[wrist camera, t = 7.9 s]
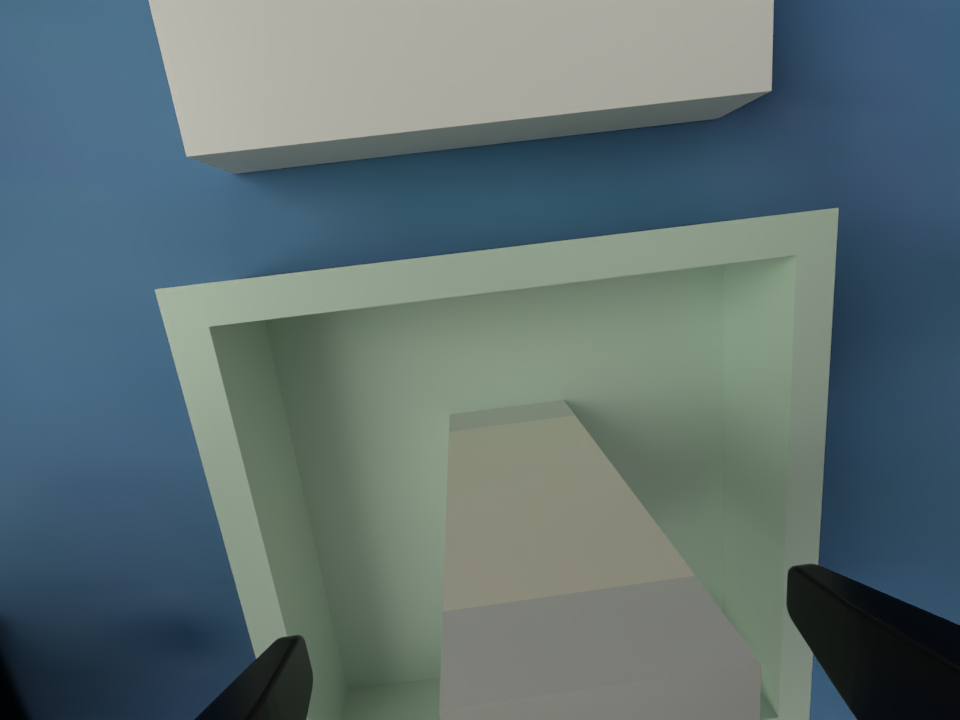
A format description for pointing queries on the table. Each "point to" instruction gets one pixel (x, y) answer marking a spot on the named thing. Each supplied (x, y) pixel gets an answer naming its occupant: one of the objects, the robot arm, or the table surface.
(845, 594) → the robot arm
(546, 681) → the block
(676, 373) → the parts tray
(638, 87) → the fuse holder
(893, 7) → the table surface
